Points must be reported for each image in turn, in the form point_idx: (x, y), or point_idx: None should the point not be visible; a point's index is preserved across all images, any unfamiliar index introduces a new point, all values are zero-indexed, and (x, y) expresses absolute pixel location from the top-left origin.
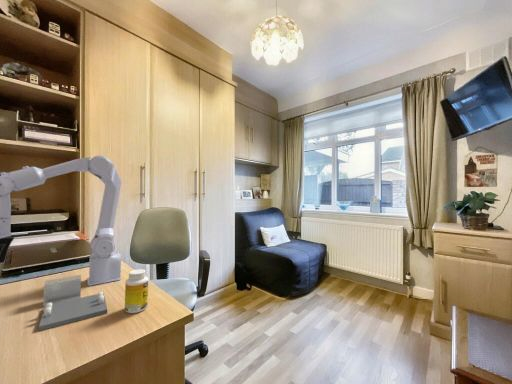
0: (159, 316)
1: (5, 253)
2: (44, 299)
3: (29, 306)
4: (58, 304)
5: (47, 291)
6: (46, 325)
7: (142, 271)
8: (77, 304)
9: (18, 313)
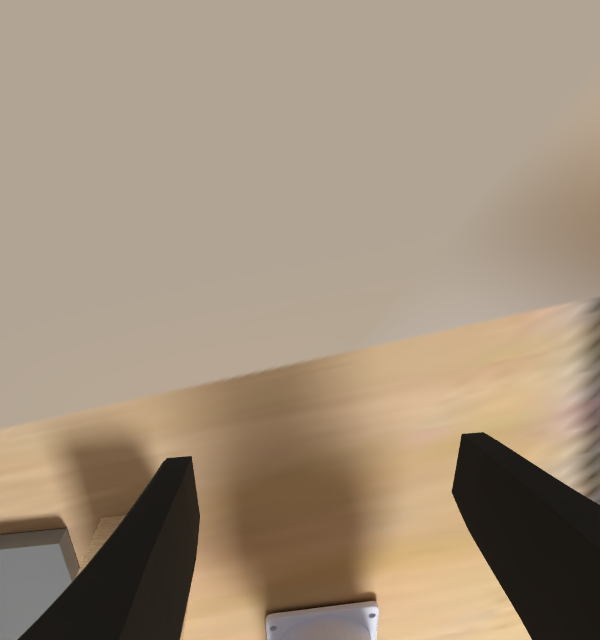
0: None
1: (509, 593)
2: (89, 549)
3: (134, 473)
4: (44, 580)
5: None
6: None
7: None
8: (10, 631)
9: (66, 455)
